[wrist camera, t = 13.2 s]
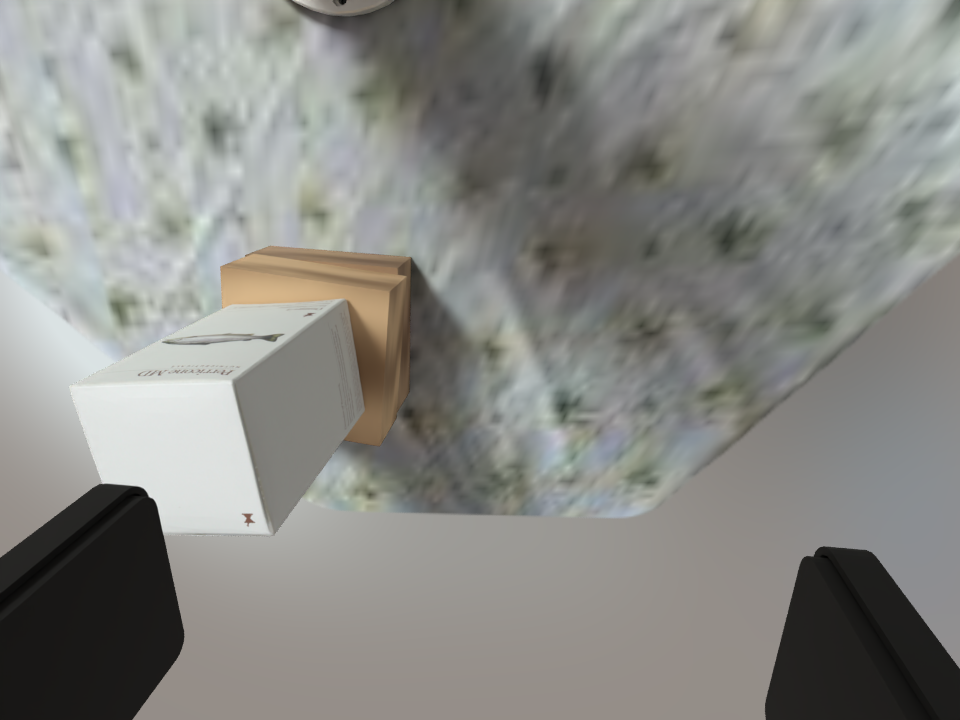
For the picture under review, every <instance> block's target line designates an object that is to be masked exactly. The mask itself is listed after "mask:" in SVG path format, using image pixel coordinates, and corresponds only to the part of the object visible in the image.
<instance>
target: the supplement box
mask: <svg viewBox="0 0 960 720" xmlns="http://www.w3.org/2000/svg"><path fill="white" fill-rule="evenodd" d="M69 390H70V393H71V396H72V399H73V402H74V404H75V407H76V410H77V413H78V416H79V419H80V422H81V425H82V427H83V430H84V433H85V436H86V439H87V442H88V445H89V447H90V450H91V453H92V456H93V459H94V462H95V464H96V467H97V470H98V472H99V475H100V478H101V480H102V483H103V484H106V483H107V484H118V485H130V486H139V487H142V488H144V489H145V490H146V492H147V493H148V496H149V497H150V498H153V499H154V500H155V502H156V504H157V507H158V512H159V517H160V521H161V526H162V531H163V535H194V536H209V535H216V536H220V535H221V536H266V537H270V536H273V535H274V534H275V533H276V532H277V531H278V529H279V528H280V527H281V525H282V524H283V522H284V521H285V520H286V518H287V517H288V515H289V514H290V513H291V511H292V510H293V509H294V507H295V506H296V505H297V503H298V502H299V500H300V499H301V498H302V496H303V495H304V494H305V492H306V491H307V489H308V488H309V487H310V485H311V484H312V483H313V481H314V480H315V478H316V477H317V476H318V474H319V473H320V472H321V470H322V469H323V468H324V466H325V465H326V463H327V462H328V461H329V459H330V458H331V457H332V455H333V454H334V452H335V451H336V450H337V448H338V447H339V445H340V444H341V443H342V441H343V440H344V439H345V437H346V436H347V435H348V433H349V432H350V430H351V429H352V428H353V426H354V425H355V424H356V422H357V421H358V419H359V418H360V417H361V415H362V414H363V413H364V411H365V407H364V400H363V394H362V388H361V382H360V376H359V369H358V363H357V357H356V350H355V344H354V339H353V332H352V326H351V321H350V314H349V309H348V304H347V300H346V299H333V300H323V301H311V302H296V303H272V304H232V305H229V306H227V307H225V308H223V309H221V310H219V311H218V312H215V313H213V314H211V315H209V316H207V317H205V318H203V319H201V320H199V321H197V322H195V323H193V324H191V325H189V326H187V327H185V328H183V329H181V330H179V331H177V332H175V333H173V334H171V335H169V336H167V337H165V338H163V339H161V340H159V341H157V342H155V343H153V344H151V345H149V346H147V347H145V348H143V349H141V350H139V351H138V352H136V353H134V354H132V355H130V356H128V357H126V358H124V359H122V360H120V361H118V362H116V363H114V364H112V365H110V366H108V367H107V368H105V369H102V370H100V371H98V372H96V373H94V374H92V375H91V376H88V377H87V378H84V379H83V380H81V381H78V382H76V383H74V384H72V385H70V387H69Z"/></svg>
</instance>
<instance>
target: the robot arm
mask: <svg viewBox="0 0 960 720" xmlns="http://www.w3.org/2000/svg"><path fill="white" fill-rule="evenodd" d="M292 1H294V2H296V3H297V4H299V5H301V6H304V7H306V8H308V9H310V10H312V11H316V12H320V13H323V14H327V15H331V16H356V15H362V14H367V13H371V12H373V11H376V10H378V9H380V8H383V7H385V6H387V5H389V4H391V3H392V2H393V1H395V0H347V1H346V3H345V5H342V4H341V0H292ZM183 642H184V629H183V624H182V620H181V615H180V610H179V606H178V601H177V596H176V592H175V587H174V582H173V578H172V573H171V569H170V563H169V559H168V555H167V549H166V545H165V540H164V535H163V531H162V526H161V521H160V517H159V512H158V507H157V504H156V502H155V500H154V499H153V498H150V497H149V496H148V493H147V492H146V490H145V489H144V488H142V487H139V486H130V485H118V484H107V483H106V484H99V485H97V486H96V487H94V488H92V489H91V490H90V491H88V492H87V493H86V494H84V495H83V496H82V497H80V498H79V499H78V500H76V501H75V502H74V503H72V504H71V505H70V506H68V507H67V508H66V509H65V510H63V511H62V512H60V513H59V514H58V515H56V516H55V517H54V518H52V519H51V520H50V521H48V522H47V523H46V524H44V525H43V526H42V527H41V528H39V529H38V530H36V531H35V532H34V533H33V534H32V535H30V536H29V537H27V538H26V539H25V540H23V541H22V542H21V543H19V544H18V545H17V546H15V547H14V548H13V549H11V550H10V551H9V552H7V553H6V554H5V555H3V556H2V557H1V558H0V720H132V719H133V718H134V717H135V715H136V714H137V712H138V711H139V710H140V708H141V707H142V706H143V704H144V703H145V702H146V700H147V699H148V697H149V696H150V695H151V693H152V692H153V691H154V689H155V688H156V687H157V685H158V684H159V683H160V681H161V680H162V678H163V677H164V676H165V674H166V673H167V672H168V670H169V669H170V668H171V666H172V665H173V663H174V662H175V661H176V659H177V658H178V656H179V654H180V652H181V649H182V646H183ZM765 715H766V720H960V669H959V667H958V666H957V665H956V663H955V662H954V661H953V659H952V658H951V657H950V655H949V654H948V653H947V651H946V650H945V648H944V647H943V646H942V644H941V643H940V642H939V640H938V639H937V638H936V636H935V635H934V634H933V632H932V631H931V630H930V628H929V627H928V626H927V624H926V623H925V622H924V620H923V619H922V618H921V616H920V615H919V614H918V612H917V611H916V610H915V608H914V607H913V606H912V604H911V603H910V602H909V600H908V599H907V598H906V596H905V595H904V594H903V592H902V591H901V589H900V588H899V587H898V585H897V584H896V583H895V581H894V580H893V579H892V577H891V576H890V575H889V573H888V572H887V571H886V569H885V568H884V567H883V565H882V564H881V563H880V561H879V560H878V559H877V558H876V556H875V555H874V554H873V553H872V552H869V551H867V550H858V549H847V548H835V547H820V548H818V550H817V551H816V552H815V555H814V557H811V556H806V557H804V558H803V559H802V561H801V564H800V567H799V570H798V574H797V578H796V582H795V587H794V590H793V594H792V598H791V602H790V606H789V610H788V614H787V618H786V622H785V626H784V630H783V634H782V638H781V642H780V646H779V650H778V654H777V658H776V662H775V666H774V670H773V674H772V678H771V682H770V686H769V690H768V694H767V698H766V703H765Z"/></svg>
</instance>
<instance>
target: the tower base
mask: <svg viewBox="0 0 960 720" xmlns="http://www.w3.org/2000/svg"><path fill="white" fill-rule="evenodd" d="M251 254H260V255H267V256H273V257H280V258H287V259H294V260H301V261H307V262H314V263H321V264H328V265H335V266H341V267H348V268H355V269H362V270H368V271H375V272H382V273H389V274H396V275H403V276H407V279H406V293H405V307H404V321H403V334H402V348H401V362H400V375H399V389H398V403H397V412H398V410H399V408H400V407H401V405H402V403H403V402H404V400H405V398H406V397H407V395H408V393H409V381H410V300H411V257H402V256H390V255H377V254H365V253H352V252H340V251H327V250H315V249H303V248H290V247H278V246H268V247H266V248H263V249H260V250H258V251H255V252H252V253H250V254H247V255H245V257H246V256H249V255H251Z"/></svg>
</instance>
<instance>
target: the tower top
mask: <svg viewBox="0 0 960 720" xmlns="http://www.w3.org/2000/svg"><path fill="white" fill-rule="evenodd" d="M220 268H221V291H222V309H223V308H225V307H227V306H229V305H232V304H272V303H296V302H311V301H323V300H333V299H346V300H347V304H348V309H349V314H350V321H351V326H352V332H353V339H354V344H355V350H356V357H357V363H358V369H359V376H360V382H361V388H362V394H363V400H364V407H365V411H364V413H363V414H362V415H361V417H360V418H359V419H358V421H357V422H356V424H355V425H354V426H353V428H352V429H351V430H350V432H349V433H348V435H347V436H346V437H345V439H344V440H345V441H351V442H357V443H363V444H369V445H374V446H380V445H381V444H382V442H383V440H384V439H385V437H386V435H387V433H388V432H389V430H390V428H391V426H392V425H393V423H394V421H395V420H396V417H397V403H398V389H399V375H400V362H401V348H402V334H403V321H404V307H405V293H406V279H407V276H403V275H396V274H389V273H382V272H375V271H368V270H362V269H355V268H348V267H341V266H335V265H328V264H321V263H314V262H307V261H301V260H294V259H287V258H280V257H273V256H267V255H260V254H251V255H249V256H246V257H244V258H241V259H239V260H236V261H233V262H231V263H228V264H226V265H223V266H220Z"/></svg>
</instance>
